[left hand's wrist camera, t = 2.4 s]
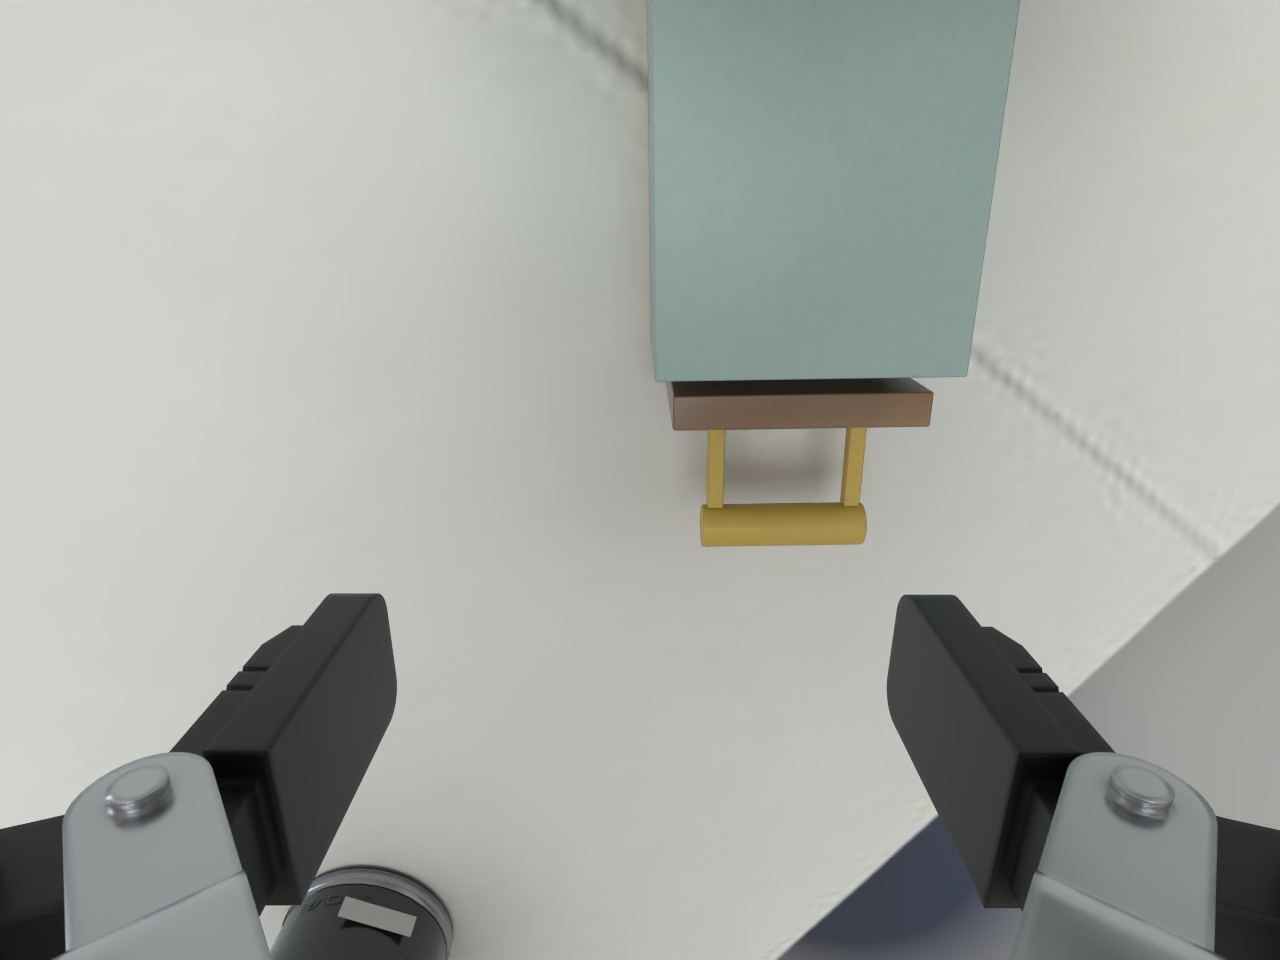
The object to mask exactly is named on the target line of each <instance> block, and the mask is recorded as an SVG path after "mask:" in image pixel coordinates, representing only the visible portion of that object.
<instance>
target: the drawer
mask: <svg viewBox="0 0 1280 960" xmlns="http://www.w3.org/2000/svg"><path fill="white" fill-rule="evenodd" d="M667 393H668V399H669V406H670V413H671V419H672V426H673V430H708V446H707V504H703V505H701V509H700V536H701V544H702V546H703V547H710V546H778V545H846V544H862V543H863V542H864V540H865V536H866V529H867V522H866V514H865V510H864V507H863V505H862V503H860V491H861V481H862V470H863V460H864V449H865V439H866V429H867V427H927V426H929V425H930V417H931V409H932V401H933V392H932V391H930V390H929V389H927V388H925V387H924V386H922V385H921V384H919V383H918V382H916V381H914V380H913V379H911V378H855V379H792V380H729V381H667ZM802 428H847V429H846V440H845V452H844V464H843V475H842V487H841V499H840V501H841V502H836V503H770V504H723V495H724V456H725V430H738V429H802Z"/></svg>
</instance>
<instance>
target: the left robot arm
mask: <svg viewBox="0 0 1280 960" xmlns="http://www.w3.org/2000/svg"><path fill="white" fill-rule="evenodd" d="M1058 688H1059V687H1058V686H1057V685H1056V684H1055V683H1054V682H1053V680H1052V679H1051V678H1050V677H1049V676H1048V675H1047V674H1046V673H1043V672H1042V668H1041V667H1040V666H1039V664H1038V663H1037V662H1036V661H1035V660H1034V659H1033V658H1032V656H1031V655H1030V654H1029V653H1028V652H1027V651H1026V650H1025V648H1024V647H1023V646H1022V645H1020V644H1018V643H1017V642H1015V641H1014V640H1012V639H1010V638H1009V637H1007V636H1006V635H1004V634H1003V633H1001V632H999V631H998V630H996V629H995V628H993V627H981V626H980V624H979V623H978V622H977V621H976V619H975V618H974V617H973V616H972V615H971V613H970V612H969V611H968V610H967V608H966V607H965V606H964V605H963V603H962V602H961V601H960V600H959V599H958V598H957V597H956V596H955V595H904V596H902V597H901V599H900V601H899V603H898V607H897V613H896V620H895V627H894V634H893V641H892V649H891V656H890V663H889V670H888V677H887V699H888V706H889V711H890V715H891V718H892V721H893V723H894V725H895V727H896V729H897V731H898V733H899V735H900V737H901V739H902V741H903V743H904V745H905V747H906V749H907V752H908V754H909V756H910V758H911V760H912V762H913V764H914V766H915V768H916V770H917V772H918V774H919V776H920V778H921V780H922V782H923V784H924V786H925V788H926V790H927V792H928V794H929V796H930V798H931V800H932V802H933V804H934V806H935V808H936V811H937V813H938V815H939V817H940V819H941V821H942V823H943V825H944V827H945V829H946V831H947V833H948V835H949V837H950V839H951V841H952V843H953V845H954V847H955V849H956V851H957V853H958V855H959V857H960V859H961V861H962V863H963V865H964V867H965V870H966V871H967V874H968V876H969V878H970V880H971V882H972V884H973V886H974V888H975V890H976V892H977V894H978V896H979V898H980V900H981V902H982V904H983V906H984V908H1021V910H1022V915H1021V919H1020V922H1019V925H1018V929H1017V932H1016V935H1015V939H1014V942H1013V945H1012V949H1011V952H1010V955H1009V959H1008V960H1280V830H1276V829H1271V828H1267V827H1262V826H1258V825H1253V824H1249V823H1244V822H1240V821H1235V820H1231V819H1226V818H1222V817H1218V816H1215V814H1214V811H1213V809H1212V808H1211V806H1210V805H1209V804H1208V802H1207V801H1206V800H1205V799H1204V798H1203V797H1202V795H1201V794H1200V793H1199V792H1197V791H1196V790H1195V789H1194V788H1193V787H1192V786H1191V785H1189V784H1188V783H1186V782H1185V781H1184V780H1182V779H1181V778H1179V777H1178V776H1176V775H1174V774H1173V773H1171V772H1169V771H1167V770H1165V769H1163V768H1161V767H1159V766H1157V765H1155V764H1152V763H1150V762H1147V761H1145V760H1142V759H1139V758H1135V757H1132V756H1128V755H1123V754H1118V753H1115V752H1114V750H1113V749H1112V748H1111V747H1110V746H1109V745H1108V744H1107V742H1106V741H1105V740H1104V739H1103V738H1102V737H1101V736H1100V734H1099V733H1098V732H1097V731H1096V730H1095V729H1094V728H1093V726H1092V725H1091V724H1090V723H1089V722H1088V721H1087V719H1086V718H1085V717H1084V716H1083V715H1082V714H1081V713H1080V711H1079V710H1078V709H1077V708H1076V707H1075V706H1074V705H1073V703H1072V702H1071V701H1070V700H1069V699H1068V698H1067V697H1066V695H1065V694H1064V693H1063V692H1059V690H1058ZM396 694H397V679H396V671H395V664H394V656H393V649H392V642H391V634H390V627H389V620H388V613H387V606H386V603H385V600H384V598H383V596H382V595H381V594H329V595H328V596H327V597H326V598H325V599H324V600H323V601H322V603H321V604H320V605H319V606H318V608H317V609H316V610H315V611H314V613H313V614H312V615H311V616H310V618H309V619H308V620H307V621H306V622H305V624H304V625H303V626H291V627H289V628H288V629H286V630H285V631H283V632H281V633H280V634H278V635H277V636H275V637H273V638H272V639H270V640H269V641H267V642H266V643H264V644H262V645H261V647H260V648H259V649H258V650H257V651H256V652H255V654H254V655H253V656H252V657H251V658H250V659H249V660H248V662H247V663H246V664H245V665H244V666H243V671H239V672H238V673H237V674H236V676H235V677H234V678H233V679H232V680H231V681H230V682H229V684H228V685H227V689H226V691H222V692H221V693H220V694H219V695H218V696H217V698H216V699H215V700H214V701H213V702H212V703H211V704H210V706H209V707H208V708H207V709H206V710H205V711H204V713H203V714H202V715H201V716H200V717H199V718H198V720H197V721H196V722H195V723H194V724H193V725H192V726H191V728H190V729H189V730H188V731H187V732H186V733H185V735H184V736H183V737H182V738H181V739H180V740H179V742H178V743H177V744H176V745H175V746H174V747H173V748H172V750H171V751H170V752H169V753H162V754H157V755H152V756H148V757H145V758H141V759H138V760H135V761H133V762H130V763H128V764H125V765H123V766H121V767H119V768H117V769H115V770H113V771H111V772H109V773H107V774H106V775H104V776H102V777H101V778H99V779H98V780H96V781H95V782H94V783H92V784H91V785H89V786H88V787H87V788H86V789H85V790H84V791H83V792H81V793H80V794H79V795H78V796H77V798H76V799H75V800H74V801H73V802H72V803H71V805H70V806H69V808H68V809H67V811H66V814H65V815H62V816H58V817H53V818H49V819H44V820H40V821H35V822H31V823H26V824H22V825H17V826H13V827H8V828H4V829H0V960H448V956H449V952H450V948H451V944H452V937H453V932H452V926H451V922H450V919H449V916H448V914H447V912H446V910H445V909H444V907H443V906H442V905H441V903H440V902H439V901H438V900H437V899H436V898H435V897H434V896H433V895H432V894H431V893H430V892H429V891H427V890H426V889H425V888H423V887H422V886H420V885H419V884H417V883H415V882H413V881H411V880H409V879H407V878H405V877H402V876H400V875H397V874H394V873H390V872H386V871H381V870H375V869H346V870H340V871H335V872H332V873H328V874H326V875H323V876H321V877H319V878H317V879H315V880H314V878H315V876H316V874H317V871H318V869H319V867H320V865H321V863H322V861H323V859H324V857H325V855H326V853H327V851H328V849H329V847H330V845H331V843H332V841H333V839H334V836H335V834H336V832H337V830H338V828H339V826H340V824H341V822H342V820H343V818H344V816H345V814H346V812H347V810H348V808H349V806H350V803H351V801H352V799H353V797H354V795H355V793H356V791H357V789H358V787H359V785H360V783H361V781H362V779H363V777H364V775H365V773H366V771H367V768H368V766H369V764H370V762H371V760H372V758H373V756H374V754H375V752H376V750H377V748H378V746H379V744H380V742H381V740H382V738H383V736H384V733H385V731H386V729H387V727H388V725H389V723H390V721H391V719H392V716H393V712H394V708H395V703H396ZM265 905H291V906H290V908H289V910H288V912H287V914H286V916H285V919H284V921H283V925H282V929H281V931H280V933H279V935H278V937H277V939H276V941H275V943H274V945H273V947H272V949H271V951H270V952H269V949H268V945H267V942H266V939H265V935H264V932H263V929H262V925H261V922H260V919H259V917H260V915H261V913H262V911H263V909H264V907H265Z"/></svg>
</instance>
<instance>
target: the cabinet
mask: <svg viewBox="0 0 1280 960" xmlns="http://www.w3.org/2000/svg"><path fill="white" fill-rule="evenodd" d="M647 3H648V97H649V191H650V285H651V342H652V350H653V361H654V372H655V381H657V382H666V381H729V380H792V379H855V378H919V377H966V376H967V372H968V365H969V358H970V351H971V344H972V337H973V330H974V322H975V315H976V308H977V301H978V294H979V287H980V280H981V273H982V266H983V259H984V252H985V245H986V238H987V231H988V224H989V217H990V210H991V203H992V195H993V188H994V181H995V174H996V167H997V160H998V153H999V146H1000V139H1001V132H1002V125H1003V118H1004V111H1005V104H1006V97H1007V90H1008V83H1009V75H1010V68H1011V61H1012V54H1013V47H1014V40H1015V33H1016V26H1017V19H1018V12H1019V5H1020V0H647Z"/></svg>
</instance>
